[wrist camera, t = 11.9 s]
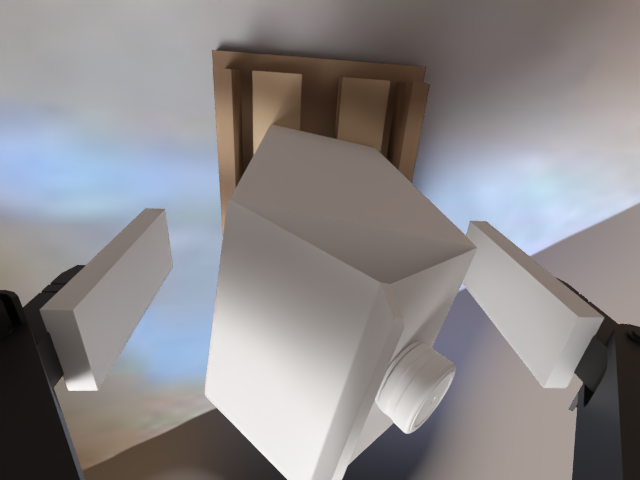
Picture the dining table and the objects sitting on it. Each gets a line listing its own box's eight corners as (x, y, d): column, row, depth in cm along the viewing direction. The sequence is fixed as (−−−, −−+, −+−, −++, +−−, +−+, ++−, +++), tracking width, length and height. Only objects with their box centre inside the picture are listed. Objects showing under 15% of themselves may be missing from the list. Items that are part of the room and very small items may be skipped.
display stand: (215, 51, 23) (197, 46, 19) (421, 67, 24) (445, 65, 20) (227, 262, 30) (215, 291, 26) (386, 267, 31) (400, 296, 27)
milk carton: (254, 223, 25) (160, 539, 8) (270, 123, 22) (176, 286, 5) (348, 240, 26) (442, 552, 9) (375, 146, 23) (587, 348, 6)
